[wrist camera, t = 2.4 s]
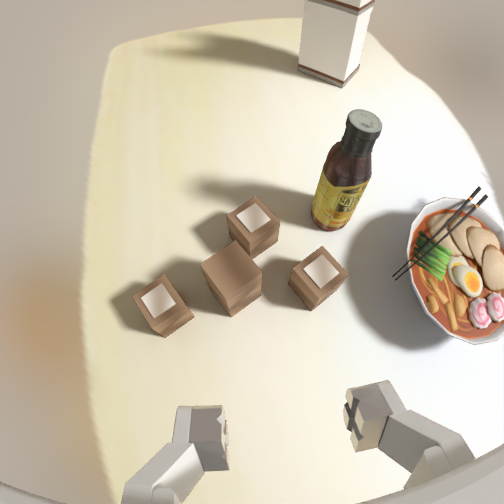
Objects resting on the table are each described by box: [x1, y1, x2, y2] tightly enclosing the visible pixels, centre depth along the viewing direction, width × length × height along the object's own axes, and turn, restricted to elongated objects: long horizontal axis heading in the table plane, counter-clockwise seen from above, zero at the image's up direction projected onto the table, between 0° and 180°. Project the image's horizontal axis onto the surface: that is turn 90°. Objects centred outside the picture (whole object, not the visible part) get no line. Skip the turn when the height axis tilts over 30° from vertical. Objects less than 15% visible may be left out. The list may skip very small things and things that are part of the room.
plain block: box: [200, 240, 262, 317], centre depth 40 cm, size 5×5×9 cm
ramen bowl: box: [392, 187, 504, 345], centre depth 41 cm, size 25×23×8 cm
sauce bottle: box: [311, 109, 382, 231], centre depth 40 cm, size 6×6×20 cm
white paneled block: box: [288, 246, 349, 311], centre depth 42 cm, size 5×5×6 cm
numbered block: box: [132, 274, 194, 338], centre depth 40 cm, size 5×5×6 cm
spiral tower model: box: [298, 0, 374, 88], centre depth 51 cm, size 11×11×35 cm
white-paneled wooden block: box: [227, 196, 280, 259], centre depth 45 cm, size 5×5×6 cm
